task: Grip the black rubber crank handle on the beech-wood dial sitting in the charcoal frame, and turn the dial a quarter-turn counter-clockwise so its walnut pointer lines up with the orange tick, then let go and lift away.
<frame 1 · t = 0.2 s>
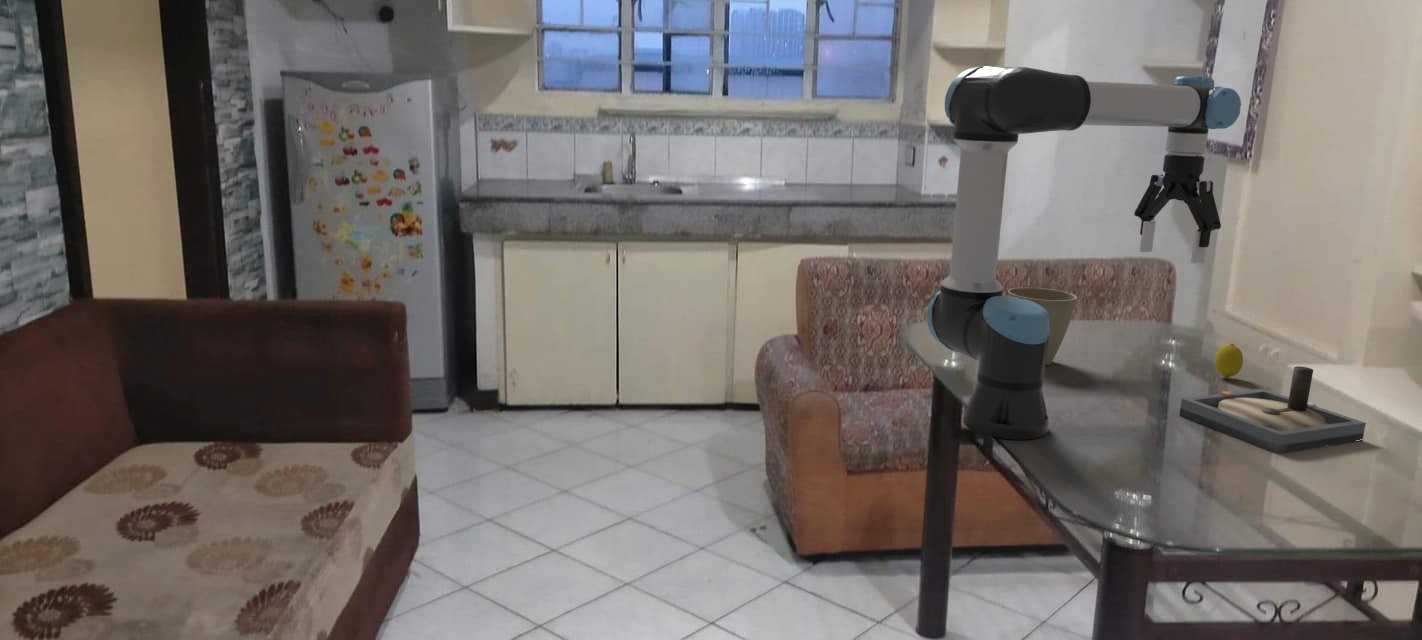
hand: (1170, 257, 218), 28 cm above the table, fingers open, 13 cm apart
dial: (1273, 395, 197), point 6 cm above the table, hinge at 0.0°
plant pot: (1034, 362, 240), on the table
lemon: (1226, 379, 232), on the table
dial frame: (1268, 427, 198), on the table
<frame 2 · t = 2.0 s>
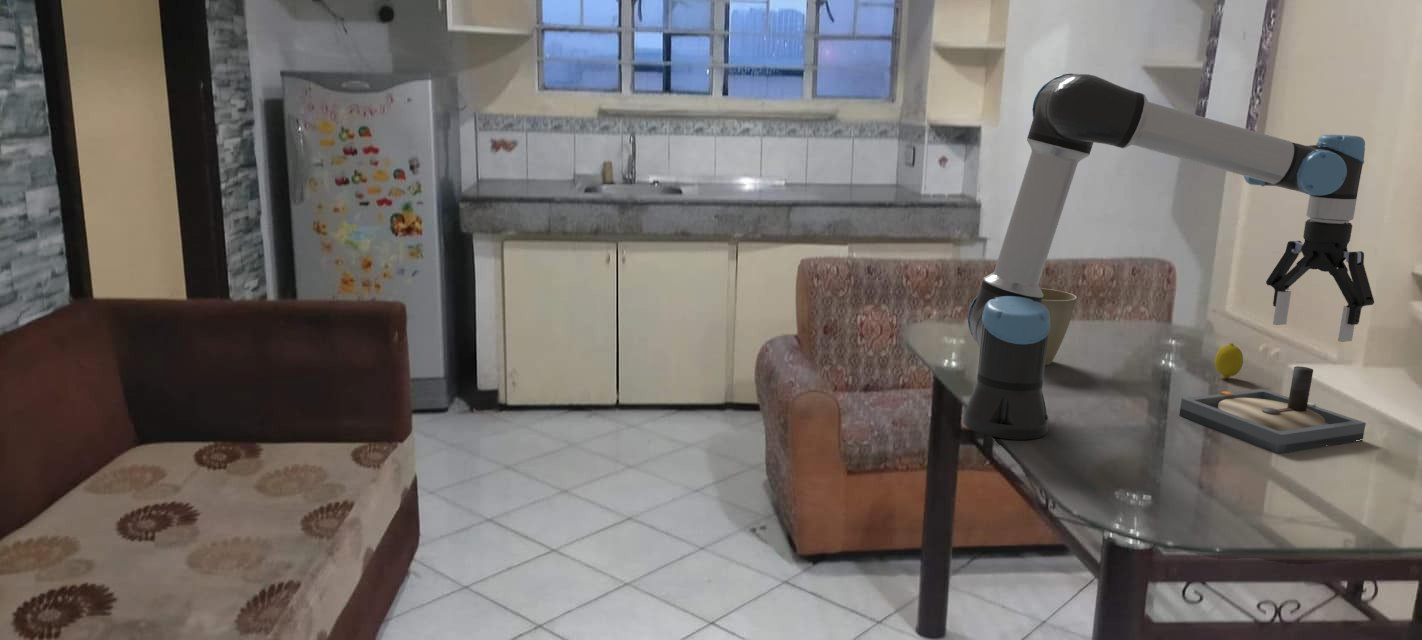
hand: (1311, 332, 197), 18 cm above the table, fingers open, 13 cm apart
nothing on the table moved.
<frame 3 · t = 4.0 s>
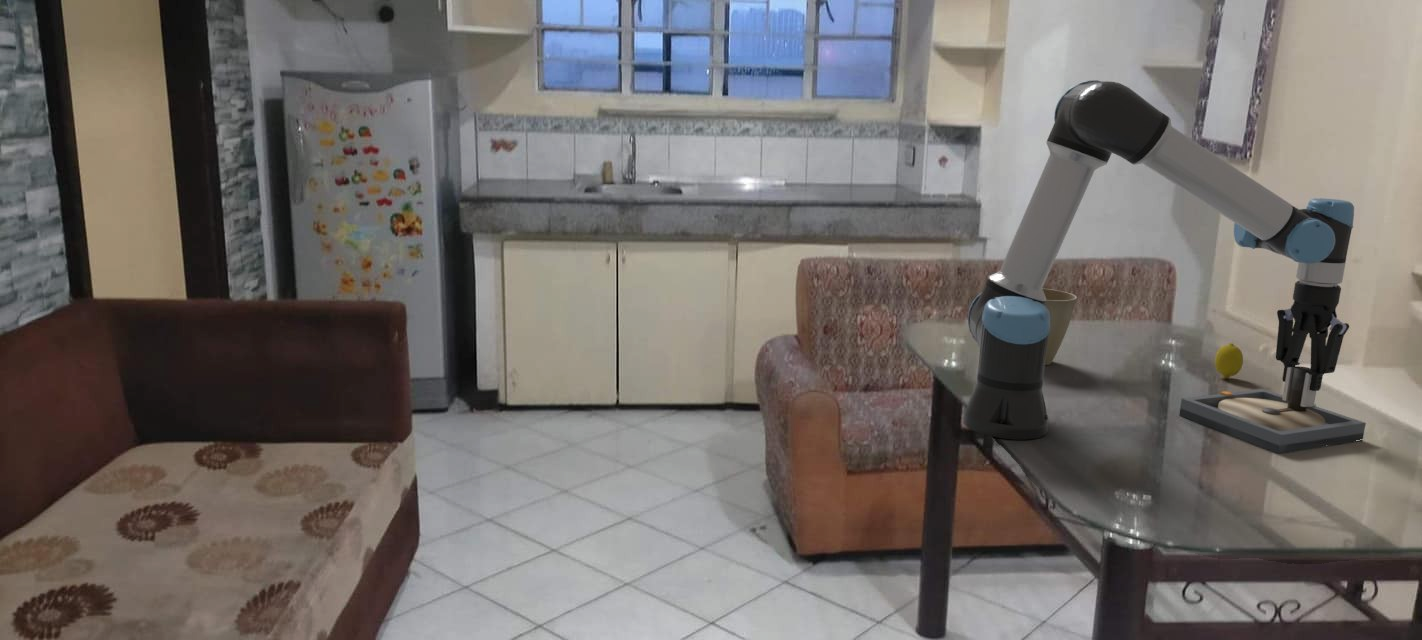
hand: (1297, 402, 200), 4 cm above the table, fingers closed on dial, 3 cm apart
dial: (1273, 395, 197), point 6 cm above the table, hinge at 0.0°, touching gripper
everything else where it was.
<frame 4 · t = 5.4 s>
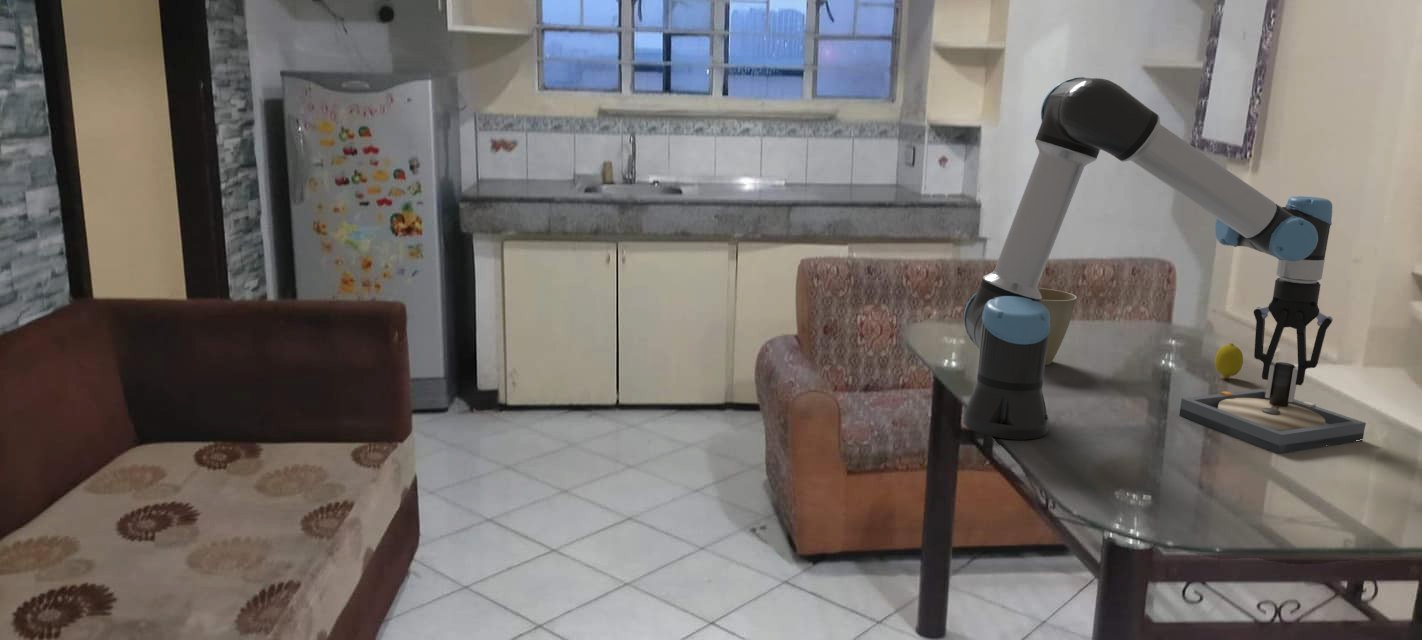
hand: (1279, 398, 203), 4 cm above the table, fingers closed on dial, 3 cm apart
dial: (1273, 395, 197), point 6 cm above the table, hinge at 28.3°, touching gripper
everything else where it was.
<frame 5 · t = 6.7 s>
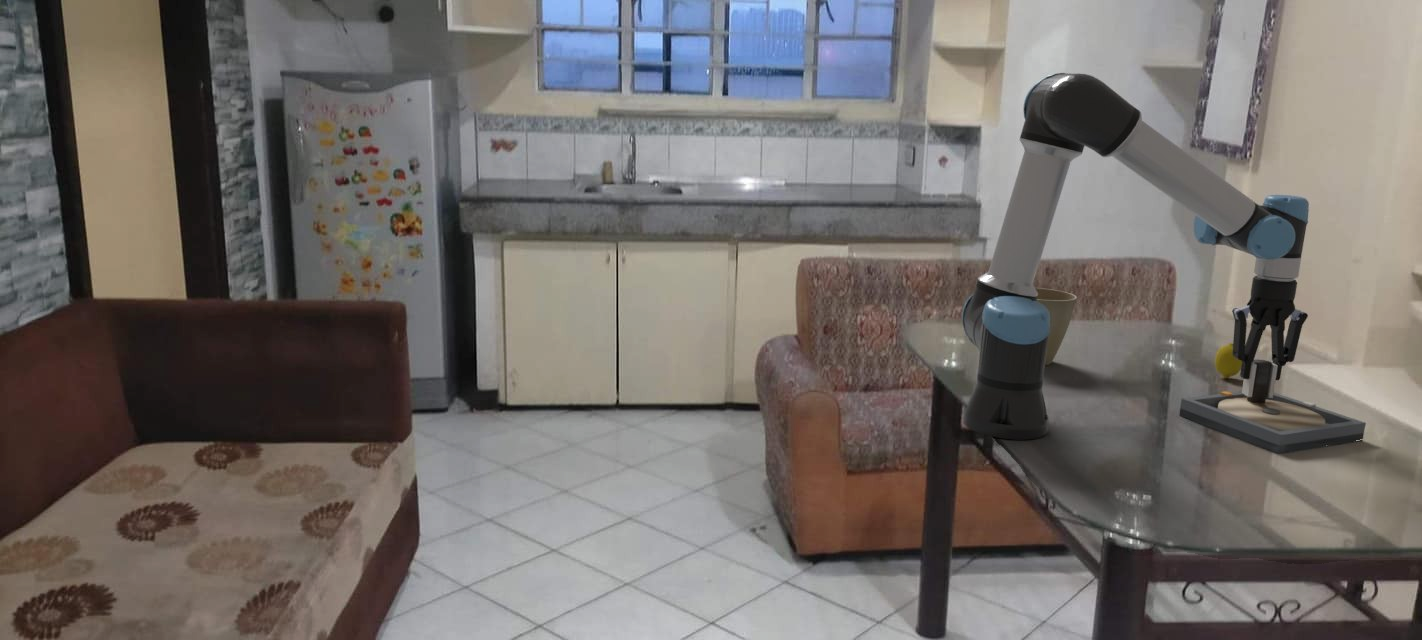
hand: (1257, 394, 204), 4 cm above the table, fingers closed on dial, 3 cm apart
dial: (1273, 395, 197), point 6 cm above the table, hinge at 61.0°, touching gripper
everything else where it was.
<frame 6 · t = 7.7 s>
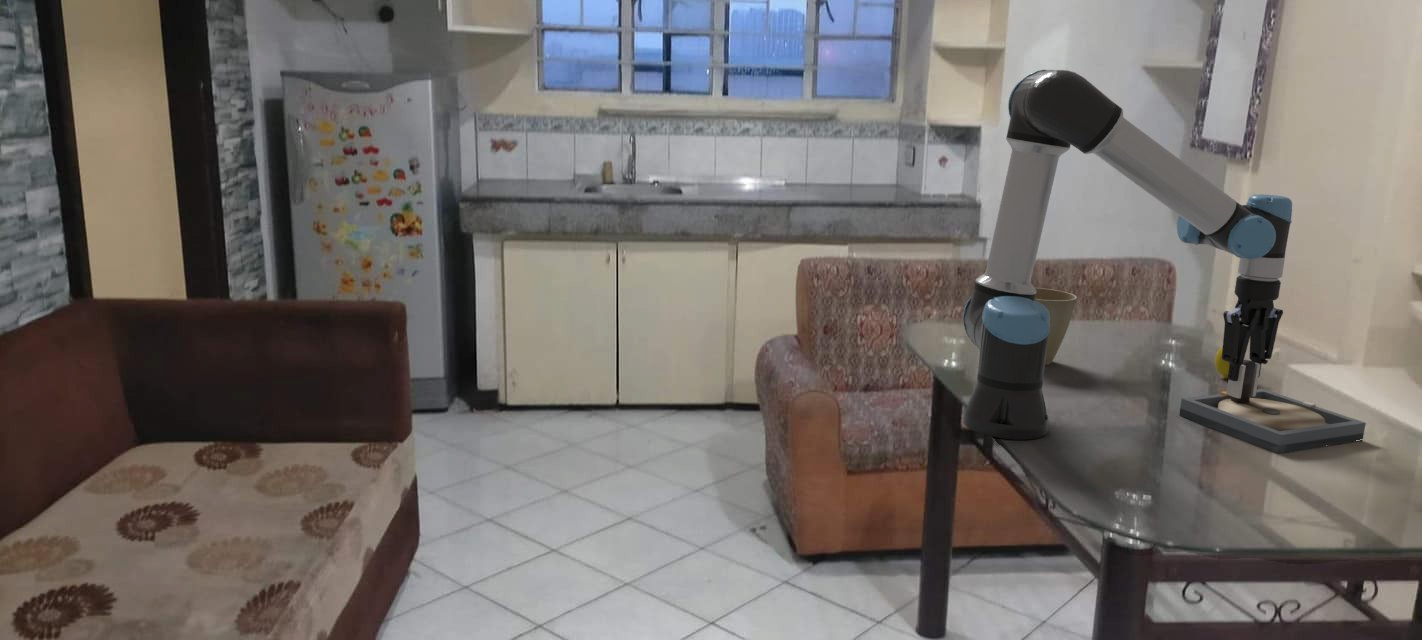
hand: (1240, 395, 204), 4 cm above the table, fingers closed on dial, 3 cm apart
dial: (1273, 395, 197), point 6 cm above the table, hinge at 89.3°, touching gripper
everything else where it was.
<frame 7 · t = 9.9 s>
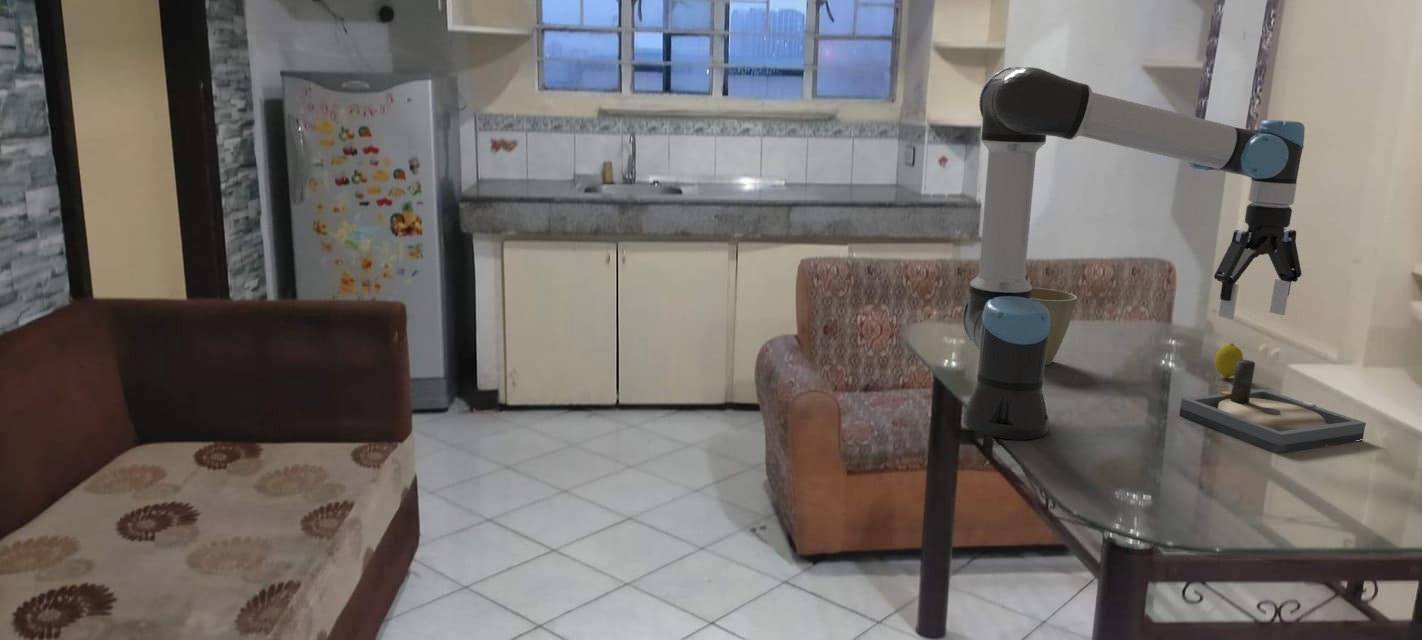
hand: (1251, 315, 200), 20 cm above the table, fingers open, 13 cm apart
dial: (1273, 395, 197), point 6 cm above the table, hinge at 90.1°
everything else where it was.
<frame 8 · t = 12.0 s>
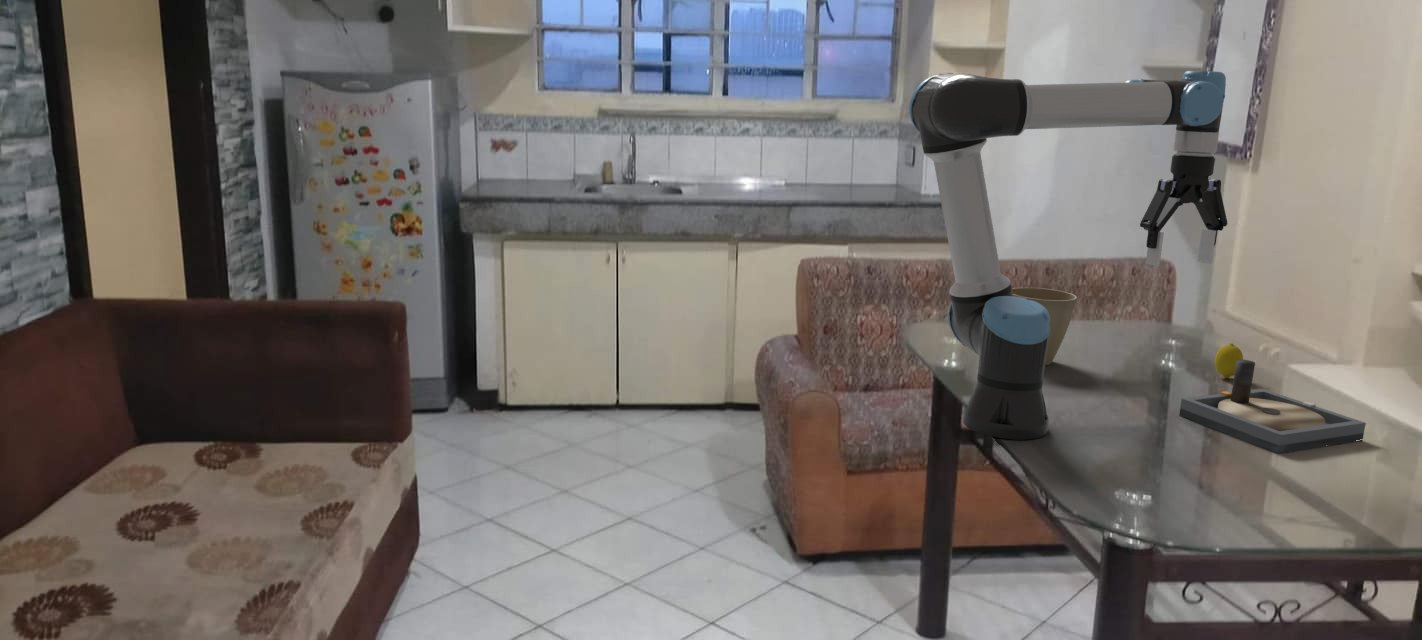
hand: (1178, 263, 204), 29 cm above the table, fingers open, 13 cm apart
nothing on the table moved.
at the end: dial at +90° (first picture: +0°); lemon moved 0.2 cm from its start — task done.
